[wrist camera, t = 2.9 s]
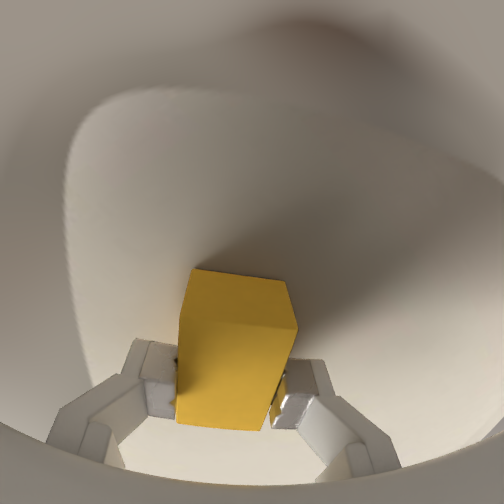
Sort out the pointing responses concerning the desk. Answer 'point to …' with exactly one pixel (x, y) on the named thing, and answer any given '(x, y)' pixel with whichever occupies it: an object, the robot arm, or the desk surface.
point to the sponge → (231, 349)
